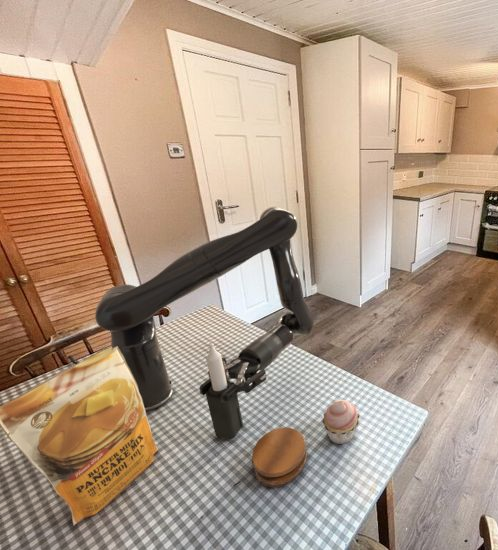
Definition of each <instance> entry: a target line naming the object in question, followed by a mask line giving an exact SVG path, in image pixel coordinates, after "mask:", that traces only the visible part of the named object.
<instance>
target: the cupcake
mask: <svg viewBox="0 0 498 550" xmlns="http://www.w3.org/2000/svg"><path fill="white" fill-rule="evenodd" d="M322 416H323V418H322V419H321V424H322V425H323V428H324V430H325V431H326V434H327V436H328V438H329V439H330V441H331V442H332V443H335V444H337V445H338V444H339V445H343V444H344V445H345V444H347V443H349V442H351V440H352V439H353V438H354V436H355V433H356V430H357V428H358V427H359V426H360V424H361V423H360V418H361V414H360V413H358V409H357V407H356V406H355V405H354V404H353V403H351V402H349V401H348V400H347V399H336V400H335V401H333V403H331V405H329V406H328V407H327V408H326V410H325V411H324V412H323V413H322Z"/></svg>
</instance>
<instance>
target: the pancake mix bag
mask: <svg viewBox="0 0 498 550" xmlns="http://www.w3.org/2000/svg"><path fill="white" fill-rule="evenodd" d="M78 362H79V363H78V364H74V365H71V366H70V367H68V368H66V369H63V370H62V371H59V372H58V373H56V374H54V375H52V376H50V377H48V378H47V379H46V380H44V381H42V382H40V383H39V384H37V385H35V386H33V387H32V388H29V389H28V390H26V391H25V392H23V393H21V394H20V395H18V396H16V397H15V398H12V399H11V400H10V401H7V402H6V403H4V404H3V405H1V407H0V429H1V430H2V432H3V433H4V434H5V435H6V437H7V438H8V440H10V441H11V442H12V444H15V445H16V446H17V448H18V449H19V450H20V452H21V453H22V454H23V456H24V457H25V458H26V459H27V460H28V462H29V463H30V464H31V466H33V467H34V468H35V469H36V470H37V471H38V472H39V473H41V474H42V475H43V476H44V477H45V478H46V479H47V480H48V482H49V483H50V485H51V486H52V487H53V489H54V491H55V492H56V494H57V495H58V496H59V497H61V498H62V499H63V500H64V501H65V503H66V504H67V506H68V507H69V509H70V512H71V520H72V526H75V525H77V524H78V523H80V522H81V521H82V520H83V519H85V518H89V517H93V516H95V515H97V514H98V513H99V512H101V511H102V510H104V509H105V508H106V507H107V506H108V505H109V504H111V502H112V501H113V500H115V499H116V498H117V497H118V496H119V495H120V494H121V493H122V492H123V491H124V490H125V489H127V487H128V486H130V485H131V483H132V482H134V481H135V479H137V478H138V477H140V475H141V474H143V472H145V471H146V470H147V469H148V468H149V467H150V466H151V465H152V464H153V463H154V462H155V454H156V453H157V451H158V450H159V448H158V446H157V445H156V443H155V441H154V436H153V433H152V429H151V425H150V423H149V422H150V421H149V419H148V416H147V411H145V408H144V404H143V401H142V397H141V395H140V393H139V389H138V385H137V383H136V381H135V379H134V377H133V375H132V373H131V370H130V369H129V367H128V365H127V363H126V360H125V358H124V356H123V354H122V353H121V351H120V349H119V348H118V346H117V347H114V348H112V346H111V345H110V346H107V347H104V348H102V349H101V350H99V351H96V352H94V353H93V354H91V355H89V356H88V357H86V358H85V359H83V360H81V361H78Z"/></svg>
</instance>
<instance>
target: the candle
mask: <svg viewBox="0 0 498 550" xmlns="http://www.w3.org/2000/svg"><path fill="white" fill-rule="evenodd" d="M208 346H209V350H208V354H207V356H206V358H205V359H206V364H207V368H208V371H209V373H210V378H211V382H212V386H210V388H209V390H208V391H207V392H206V394H205V397H206V403H207V406H208V410H209V414H210V419H211V423H212V426H213V427H212V428H213V431H214V434H215V435H214V436H215V437H216V438H217V439H222V440H228V441H231V440H233V439H235V438H236V436H237V434H238V433H239V431H240V430H241V429H242V428H243V427H244V422H243V417H242V412H241V408H240V401H239V397H238V393H237V394H236V395H235V396H234V397H233V398H232V399H231V400H229V401H227V402H226V403H223V402H221V398H220V396H221V394H222V393H223V392H224V391H225V390H227V389H228V388H229V387H230V386H231V385H232V384H234V385H235V382H233V381H230V380H226V376H225V372H224V367H223V362H222V358H223V357H222V354H221V353H220V352H219V351H217V350H216V348H215V346H214V343H213V342H212V343H211V342H210V343H209V344H208Z"/></svg>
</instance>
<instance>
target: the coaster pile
mask: <svg viewBox="0 0 498 550" xmlns="http://www.w3.org/2000/svg"><path fill="white" fill-rule="evenodd" d="M307 457H308V453H307V447H306V440H305V437H304V436H303V434H302V433H301V432H300V431H299V430H297V429H295V428H292V427H285V426H284V427H278V428H274V429H271V430H269V431H268V432H267V433H265V434H264V435H262V436H261V437H260V438H259V439H258V440H257V442H256V444H255V445H254V448H253V450H252V456H251V462H252V467H253V471H254V472H253V473H254V476H255V478H256V480H257V481H258V482H259V483H260V484H261V485H262V486H264V487H267V488H274V489H275V488H280V487H284V486H286V485H289V484H291V483H293V482H294V481H295V480H296V479H297V478H298V477H299V476H300V475H301V473H303V470H304V469H305V466H306V463H307V460H308V459H307Z"/></svg>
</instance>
